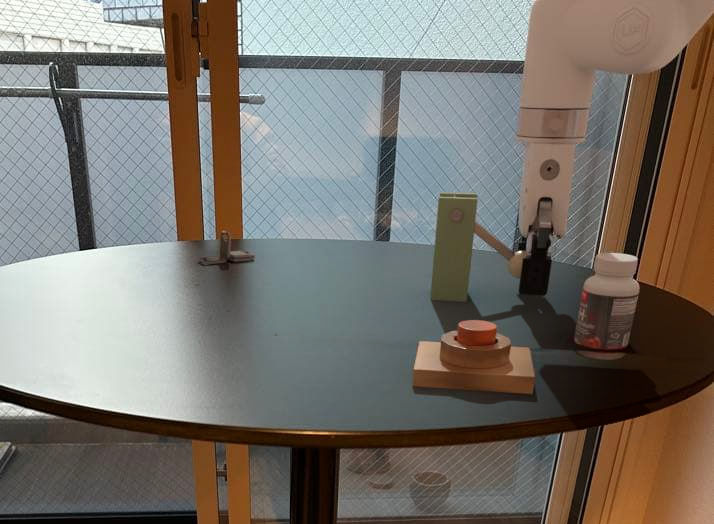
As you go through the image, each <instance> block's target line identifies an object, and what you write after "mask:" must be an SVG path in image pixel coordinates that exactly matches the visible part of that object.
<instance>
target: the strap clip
mask: <svg viewBox="0 0 714 524" xmlns="http://www.w3.org/2000/svg"><path fill="white" fill-rule="evenodd" d="M220 234H221V235H220V243H219V244H220V247H219V255H216V256H203V257H197V261H198V262H200V263H202V264H203V265H204V264H205V265H217V264H225V263H226V262H228V261H230V262H233V263H237V262H238V263H239V262H249V261H251V260H254V259H255V258H256V256H255V253H253V252H250V251H247V250H234V251H231V249H232V248H231V247H232V237H231V233H230V232H228V231H225V230H221V233H220ZM226 236H227V240H225V237H226Z"/></svg>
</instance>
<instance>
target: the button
mask: <svg viewBox="0 0 714 524" xmlns="http://www.w3.org/2000/svg"><path fill="white" fill-rule="evenodd" d="M457 330H458V331H457ZM457 330H456V331H457V342H458V343H461V344H465V345H470V346H490V345H494V344H495V338H496V333H497V330H498V326H497V324H496V323H494V322H491V321H487V320H479V319H469V320H468V319H467V320H462V321H459V322H458V324H457Z"/></svg>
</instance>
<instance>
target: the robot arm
mask: <svg viewBox="0 0 714 524" xmlns="http://www.w3.org/2000/svg"><path fill="white" fill-rule="evenodd" d="M529 14H530V15H529V21H528V28H527V29H528V30H527V38H526V46H525V55H524V63H523V72H522V80H521V91H520V99H519V108H518V113H517V114H518V115H517V123H516V131H515V139H514V140H515V142H519V143H525V145H524V146H525V147H524V155H523V163H522V172H521V179H520V191H519V202H518V229H519V232H520V241H519V242H518V244H517V252H518V251H526V258H523V261H522V269H521V276H520V279H519V284H518V293H519V295H521V296H542V297H543V296H546V295H547V294H548V290H549V283H550V278H551V277H550V276H551V270H552V263H553V259H552V253H553V241H554V240H553V239H554V235H555V236H556V238H557V240H562V239H563V238H564V237H565V236H566V232H567V223H568V214H569V209H570V207H569V206H570V198H571V192H572V184H573V175H574V167H575V156H576V155H575V154H576V152H575V151H576V144H583V143H585V142H586V135H587V129H588V122H589V116H590V109H591V102H592V98H593V91H594V85H595V78H596V71H602V72H608V73H614V74H619V75H629V76H630V75H631V76H633V75H643V74H650V73H653V72H656V71H659V70H661V69H662V68H664V67H666V66H667V65H668V64H669V63H671V62H672V61H673V60H674V59H675V58H676V57H677V56H678V55H679V54H680V53H681V52H682V51H683V50H684V49H685V47H686V46H687V45H688V44H689V42H690V41H691V40H692V39H693V38H694V37H695V35H696V34H697V33H698V32H699V31H700V29H701V28H702V27H703V26H704V25H705V24H706V22H707V21H708V20H709V19H710V18H711V17H712V15H713V14H714V0H534V2H533V3H532V6H531V9H530V13H529Z"/></svg>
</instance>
